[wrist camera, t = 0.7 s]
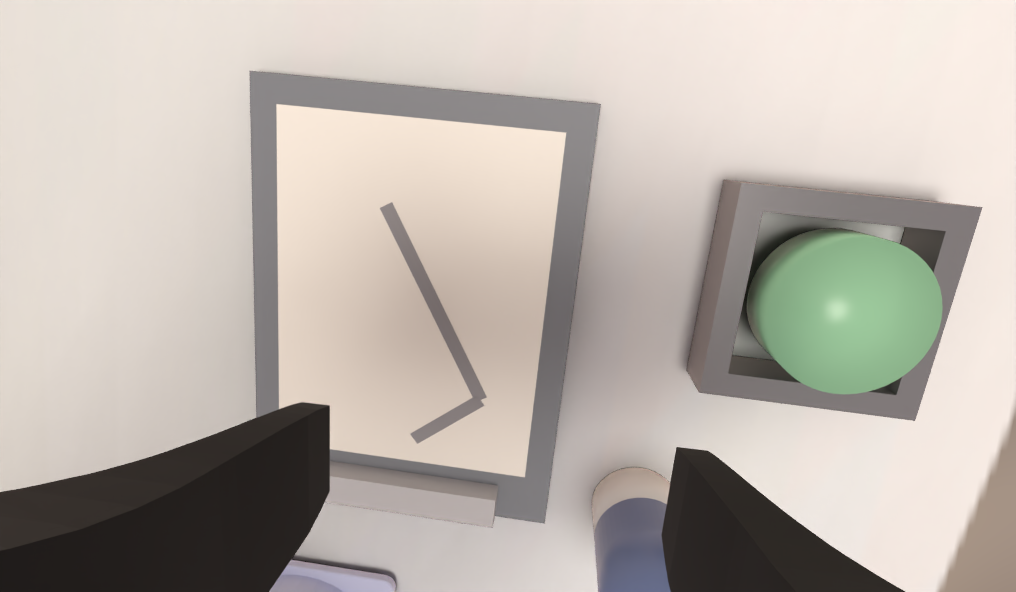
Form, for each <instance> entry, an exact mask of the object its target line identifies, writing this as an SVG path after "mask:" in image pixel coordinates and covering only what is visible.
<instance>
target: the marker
mask: <svg viewBox="0 0 1016 592" xmlns="http://www.w3.org/2000/svg"><path fill="white" fill-rule="evenodd" d="M669 488H670V483H669V482H668V481H667V480H666V479H665V478H664V477H663V476H661V475H660V474H658V473H656V472H654V471H651V470H648V469H644V468H637V467H631V468H624V469H620V470H617V471H615V472H613V473H611V474H609V475H608V476H606V477H605V478H604V479H603V480H602V481H601V482H600V483H599V484H598V486H597V487H596V489H595V491H594V494H593V498H592V514H593V527H594V541H595V554H596V567H597V581H598V592H671V591H670V587H669V583H668V578H667V571H666V565H665V558H664V551H663V543H662V536H661V534H662V529H663V523H664V517H665V511H666V506H667V500H668V494H669Z"/></svg>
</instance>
